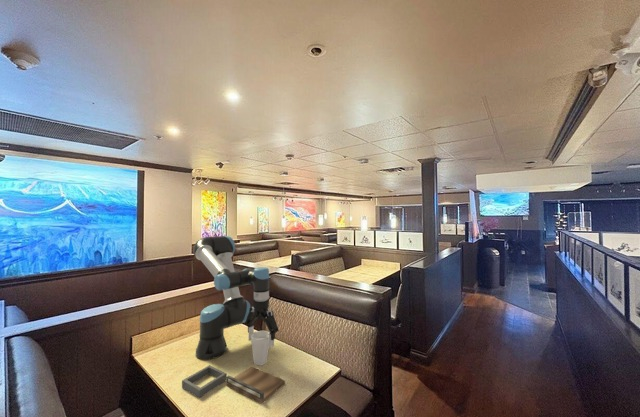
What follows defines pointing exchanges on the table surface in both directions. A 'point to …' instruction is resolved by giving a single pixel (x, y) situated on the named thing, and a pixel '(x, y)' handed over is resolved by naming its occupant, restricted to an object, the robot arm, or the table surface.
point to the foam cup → (260, 347)
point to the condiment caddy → (200, 392)
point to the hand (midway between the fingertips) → (261, 342)
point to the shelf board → (255, 384)
